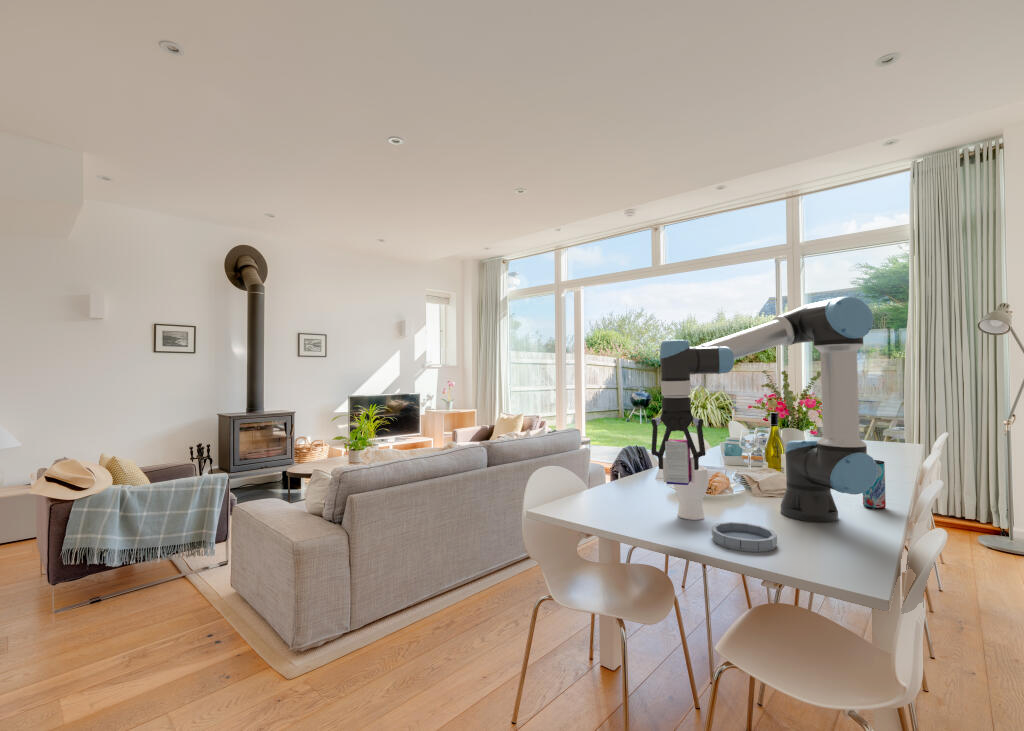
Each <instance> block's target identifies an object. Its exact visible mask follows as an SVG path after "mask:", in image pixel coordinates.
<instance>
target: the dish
mask: <svg viewBox="0 0 1024 731" xmlns="http://www.w3.org/2000/svg"><path fill="white" fill-rule="evenodd" d="M711 536H712V538H711V539H712V541H713V542H714V543H715V544H717V545H719V546H721V547H722V548H723V547H724V548H727V549H730V550H734V551H739V552H745V553H766V552H771V551H774V550H775V549H776V548H777V544H778V535H777V533H776V532H775V531H774V530H772V529H771V528H770V529H769V528H768V527H765V526H762V525H757V524H752V523H748V522H735V521H727V522H719V523H716V524H715V523H714V525H712V526H711Z"/></svg>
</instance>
